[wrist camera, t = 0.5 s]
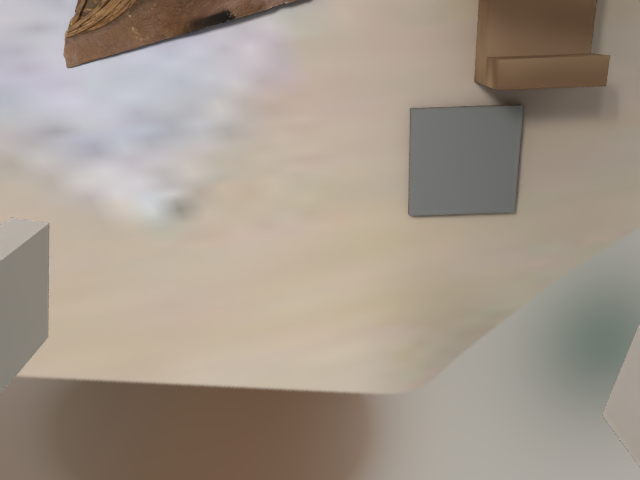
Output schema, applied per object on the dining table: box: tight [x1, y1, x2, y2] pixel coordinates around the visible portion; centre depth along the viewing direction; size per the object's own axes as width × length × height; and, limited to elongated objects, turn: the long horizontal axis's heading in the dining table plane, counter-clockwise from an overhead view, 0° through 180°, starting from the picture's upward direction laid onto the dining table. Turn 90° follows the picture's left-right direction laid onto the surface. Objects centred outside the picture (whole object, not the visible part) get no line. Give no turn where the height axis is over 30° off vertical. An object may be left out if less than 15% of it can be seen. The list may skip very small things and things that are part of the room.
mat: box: [408, 104, 523, 216], centre depth 38 cm, size 7×7×1 cm
